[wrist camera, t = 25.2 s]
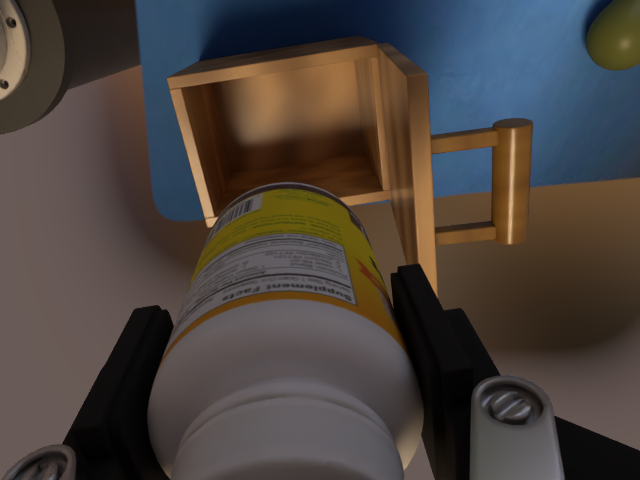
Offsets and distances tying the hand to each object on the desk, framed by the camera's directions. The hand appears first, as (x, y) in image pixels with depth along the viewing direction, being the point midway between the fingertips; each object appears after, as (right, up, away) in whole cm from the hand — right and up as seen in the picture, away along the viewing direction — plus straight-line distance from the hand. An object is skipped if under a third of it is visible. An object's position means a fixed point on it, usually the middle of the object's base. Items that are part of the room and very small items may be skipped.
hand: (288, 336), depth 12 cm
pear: (+25, +18, +29) cm, 42 cm away
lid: (+5, +7, +15) cm, 17 cm away
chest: (-2, +15, +33) cm, 36 cm away
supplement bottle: (0, +2, +5) cm, 5 cm away
